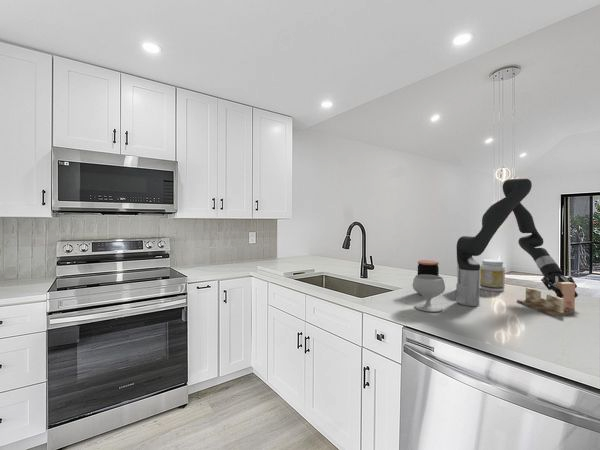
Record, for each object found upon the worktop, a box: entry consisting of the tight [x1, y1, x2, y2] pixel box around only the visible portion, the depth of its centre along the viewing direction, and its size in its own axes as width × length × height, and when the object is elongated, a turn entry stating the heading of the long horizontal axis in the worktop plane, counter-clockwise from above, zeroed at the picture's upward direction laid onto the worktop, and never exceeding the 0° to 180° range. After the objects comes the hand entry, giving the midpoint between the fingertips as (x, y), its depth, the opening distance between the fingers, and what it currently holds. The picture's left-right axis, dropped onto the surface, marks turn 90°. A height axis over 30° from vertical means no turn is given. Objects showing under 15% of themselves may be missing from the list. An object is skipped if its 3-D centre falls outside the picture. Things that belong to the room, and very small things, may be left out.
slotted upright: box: [556, 282, 576, 310], centre depth 141 cm, size 3×6×12 cm, turn 91°
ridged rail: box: [516, 287, 574, 316], centre depth 141 cm, size 20×10×7 cm, turn 1°
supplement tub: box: [480, 258, 506, 293], centre depth 176 cm, size 12×12×17 cm
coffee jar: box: [417, 259, 440, 296], centre depth 166 cm, size 11×11×18 cm
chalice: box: [412, 274, 446, 313], centre depth 141 cm, size 14×14×15 cm
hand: (568, 296), depth 139 cm, fingers closed on slotted upright, 6 cm apart
